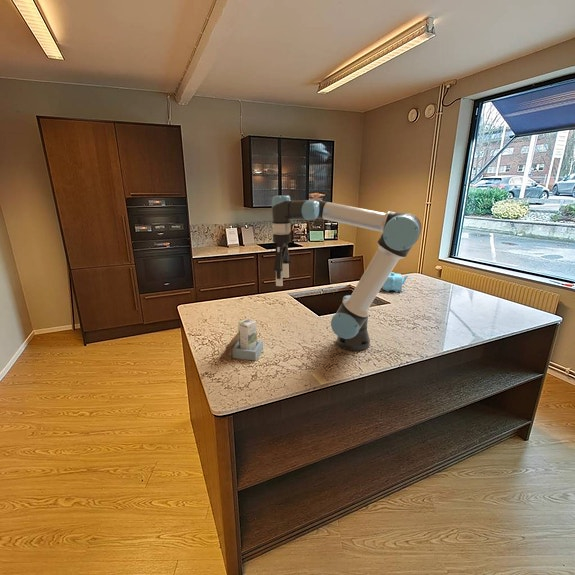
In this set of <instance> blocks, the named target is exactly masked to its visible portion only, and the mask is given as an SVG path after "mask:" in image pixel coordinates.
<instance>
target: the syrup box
mask: <svg viewBox="0 0 575 575" xmlns="http://www.w3.org/2000/svg"><path fill="white" fill-rule="evenodd" d="M237 323H238V324H237V326H238V327H237V328H238V332H237V333H239V349H247V350H254V349H255V347H256V346H257V340H258V335H257V334H258V331H257V330H258V329H257V328H258V327H257V326H258V325H257V324H258V323H257V321H255V320H254V319H251V318H246V319H243V320H241V321H238V322H237Z"/></svg>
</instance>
